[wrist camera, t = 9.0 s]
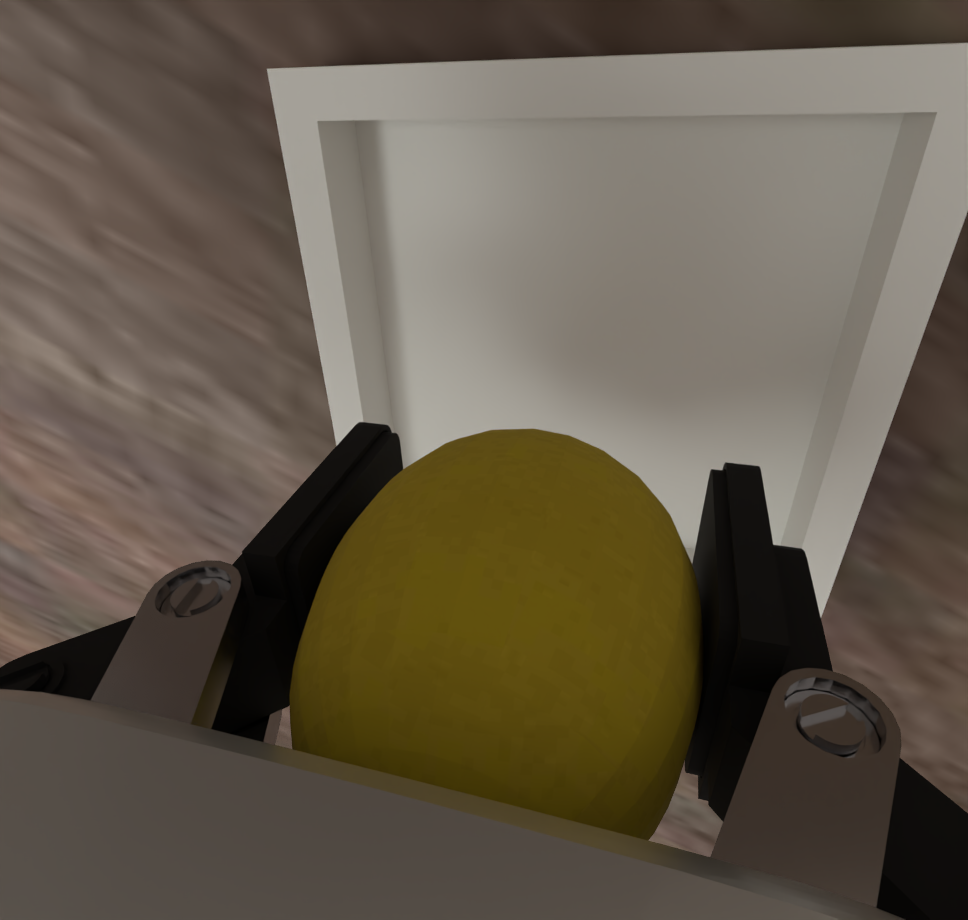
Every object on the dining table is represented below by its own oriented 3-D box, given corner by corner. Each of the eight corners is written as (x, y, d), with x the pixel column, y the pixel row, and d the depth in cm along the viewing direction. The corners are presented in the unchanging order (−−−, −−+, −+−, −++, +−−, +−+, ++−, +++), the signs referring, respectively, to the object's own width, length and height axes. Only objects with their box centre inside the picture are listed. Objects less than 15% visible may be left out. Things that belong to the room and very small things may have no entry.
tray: (321, 65, 16) (266, 68, 14) (973, 41, 12) (1029, 40, 10) (386, 516, 23) (358, 561, 21) (801, 576, 20) (814, 636, 18)
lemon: (414, 546, 15) (194, 941, 8) (435, 321, 11) (102, 674, 5) (653, 615, 14) (620, 1117, 7) (745, 393, 11) (833, 931, 4)
